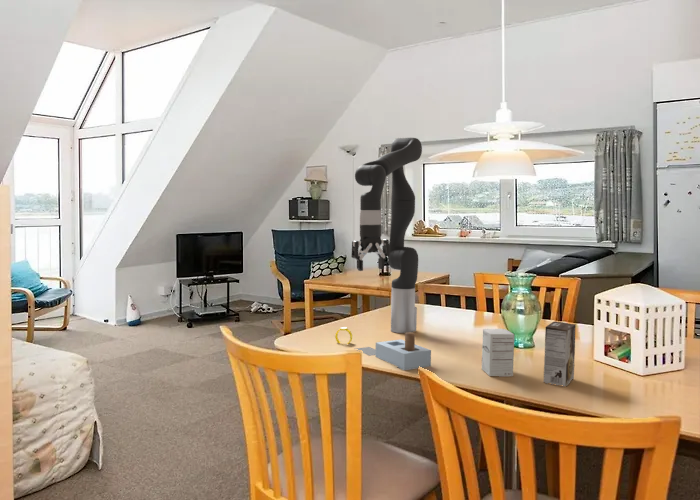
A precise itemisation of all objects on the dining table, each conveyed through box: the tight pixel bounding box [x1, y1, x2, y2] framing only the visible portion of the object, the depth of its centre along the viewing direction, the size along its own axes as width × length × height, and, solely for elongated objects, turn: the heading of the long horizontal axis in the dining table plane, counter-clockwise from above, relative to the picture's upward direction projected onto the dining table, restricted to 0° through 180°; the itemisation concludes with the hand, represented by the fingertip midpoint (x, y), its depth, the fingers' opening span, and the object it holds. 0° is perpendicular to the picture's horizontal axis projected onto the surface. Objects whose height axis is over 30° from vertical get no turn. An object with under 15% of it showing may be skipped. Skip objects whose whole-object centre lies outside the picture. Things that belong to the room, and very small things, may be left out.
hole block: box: [374, 339, 432, 371], centre depth 180 cm, size 10×16×5 cm, turn 30°
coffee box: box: [543, 321, 577, 387], centre depth 161 cm, size 9×6×16 cm
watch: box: [334, 326, 353, 345], centre depth 202 cm, size 6×3×6 cm, turn 71°
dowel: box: [404, 332, 416, 352], centre depth 176 cm, size 3×3×10 cm
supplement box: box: [481, 328, 515, 377], centre depth 168 cm, size 7×7×13 cm
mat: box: [355, 346, 376, 357], centre depth 191 cm, size 6×10×1 cm, turn 30°
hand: (370, 269), depth 199 cm, fingers open, 8 cm apart
